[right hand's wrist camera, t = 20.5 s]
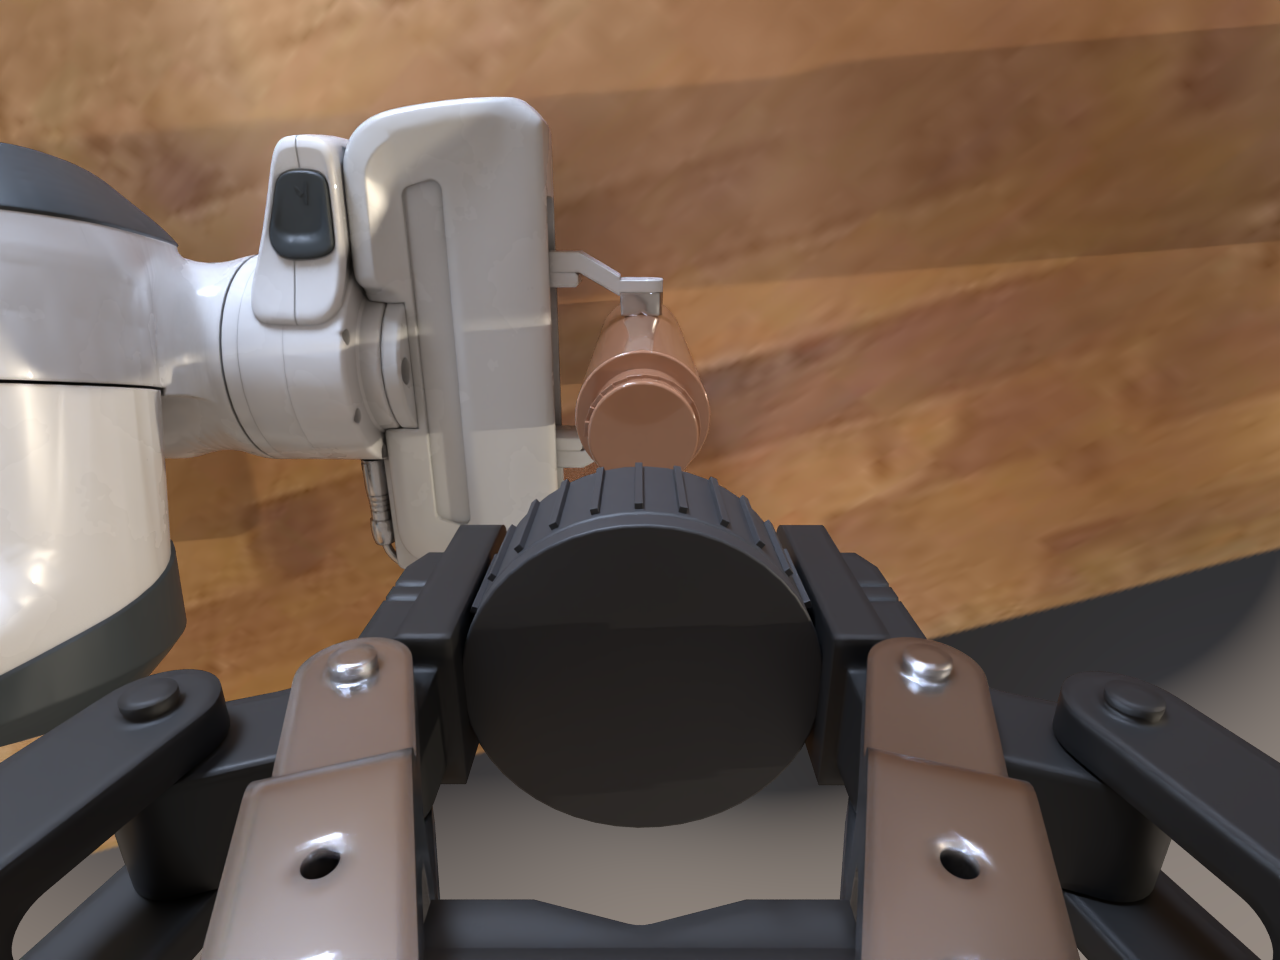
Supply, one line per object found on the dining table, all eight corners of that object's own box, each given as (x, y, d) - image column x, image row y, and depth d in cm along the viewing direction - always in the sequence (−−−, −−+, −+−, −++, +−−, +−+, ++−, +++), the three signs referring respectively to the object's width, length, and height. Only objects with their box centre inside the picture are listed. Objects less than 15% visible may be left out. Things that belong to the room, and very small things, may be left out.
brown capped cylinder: (686, 303, 35) (727, 371, 19) (675, 383, 37) (706, 512, 20) (604, 293, 35) (575, 354, 19) (597, 374, 37) (563, 497, 20)
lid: (477, 708, 12) (442, 811, 10) (502, 436, 10) (467, 490, 8) (757, 744, 12) (782, 851, 10) (827, 485, 10) (874, 549, 8)
